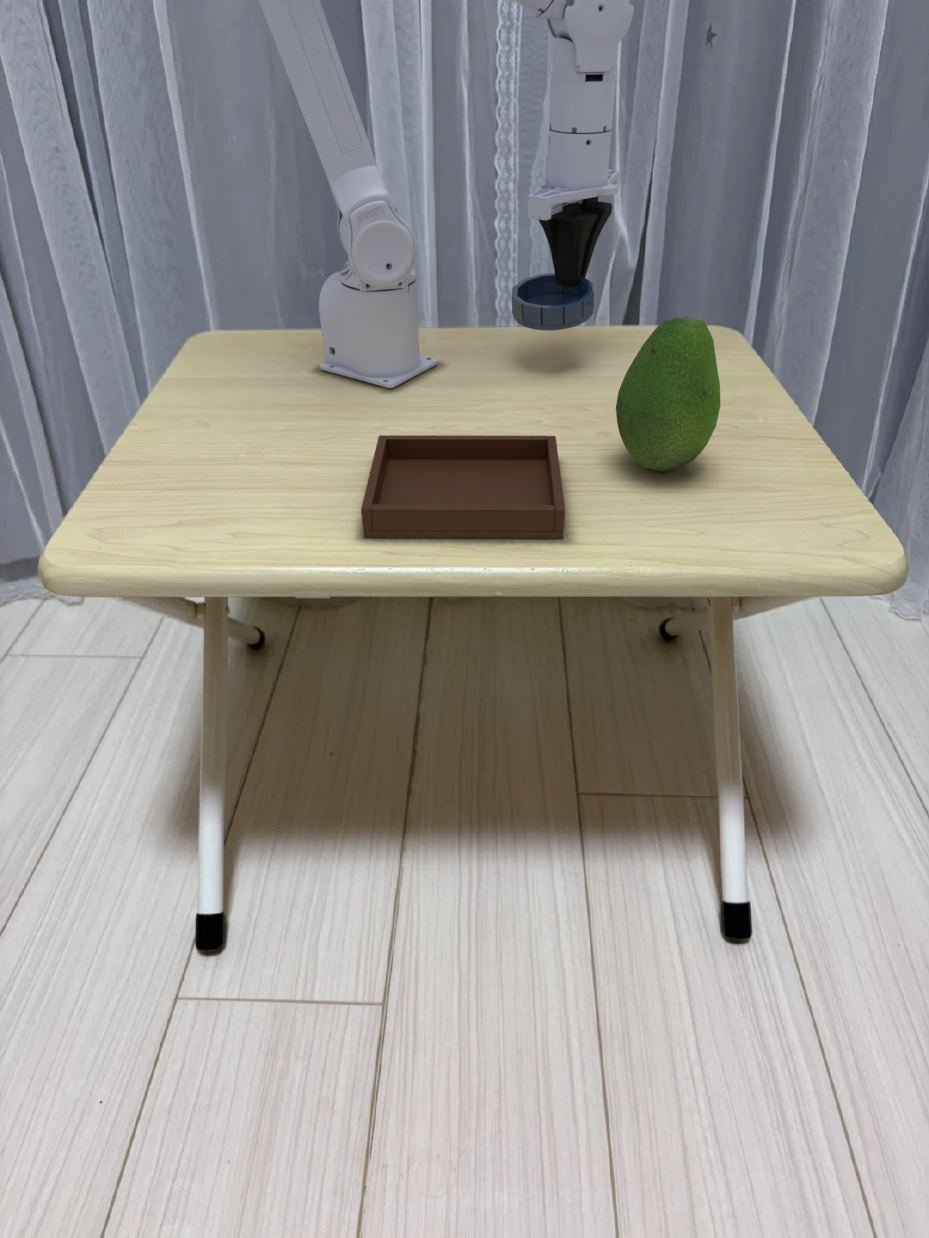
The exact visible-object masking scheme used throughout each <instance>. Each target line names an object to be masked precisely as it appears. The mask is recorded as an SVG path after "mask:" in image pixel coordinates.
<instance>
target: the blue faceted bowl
mask: <svg viewBox="0 0 929 1238" xmlns="http://www.w3.org/2000/svg"><path fill="white" fill-rule="evenodd" d="M594 287H595V286H594V282H593V281H591V280H590V279H588V278H586V277H585V278H584V277H583V276H580V278H579V281H578V284H577V285H576V286H574V287H572V286H566V285H561V284H557V282H556V277H555V272H550V273H549V272H548V273H540V274H536V275H533V276H530V277H526V278H524V279H522V280H520V281H519V282H518V283H517V284H515V285H514V286H513V287H512V288H511V295H510V296H511V314H512V317H513V320H514V321H515V322H516V323H517V324H518V325H520V326H522V327H523V328H524V327H525V328H528V329H531V330H536V331H547V332H549V331H561V330H566V329H570V328H571V329H572V328H575V327H577V326H579V325H582V324H584V323H585V322H587V321H588V320H590V318H591V317H592V316H593V314H594V309H595V288H594Z"/></svg>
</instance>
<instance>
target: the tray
mask: <svg viewBox="0 0 929 1238" xmlns="http://www.w3.org/2000/svg"><path fill="white" fill-rule="evenodd" d="M362 499H363V500H362V505H361V508H360V511H361V522H362V523H361V524H362V534H363V538H364V539H365V538H367V539H370V538H371V539H372V538H374V539H375V538H376V539H377V538H382V539H384V538H385V539H386V538H387V539H390V538H391V539H392V538H394V539H395V538H396V539H397V538H398V539H401V538H402V539H549V540H550V539H556V540H557V539H559V540H560V539H564V533H565V518H566V506H565V505H566V504H565V500H564V490H563V483H562V474H561V467H560V460H559V452H558V444H557V436H556V435H465V434H464V435H460V434H459V435H450V434H449V435H447V434H446V435H444V434H443V435H442V434H441V435H439V434H438V435H433V434H430V435H428V434H427V435H426V434H425V435H423V434H422V435H417V434H414V435H413V434H412V435H411V434H409V435H408V434H407V435H405V434H404V435H403V434H402V435H400V434H395V435H394V434H393V435H392V434H390V435H389V434H387V435H386V434H383V435H381V434H379V435H378V438H377V442H376V446H375V449H374V453H373V458H372V463H371V467H370V471H369V474H368V479H367V483H366V487H365V492H364V496H363V498H362Z"/></svg>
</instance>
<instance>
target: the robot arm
mask: <svg viewBox="0 0 929 1238" xmlns="http://www.w3.org/2000/svg"><path fill="white" fill-rule="evenodd" d="M513 1H514V2H516V3H517V4H518V5H520V6H521V7H522V8H523V9H525V10H527V11H528V13H530V14H531V15H533V16H534V17H536V18H537V19H538V20H540V21H544V23H545V25H546V28H547V30H548V32H549V34H550V35H551V37H552V38H553V47H552V48H553V49H552V68H551V72H550V73H551V79H550V98H549V119H548V138H547V139H548V140H547V141H548V142H547V163H546V180H544V182H542V184H541V185H540V186H539V187H538V188H537V190H536V191H534V192H532V193H530V194H528V196H527V218H528V219H532V220H537V221H538V222H539V224H540V226H541V228H542V230H543V232H544V235H545V237H546V240H547V244H548V247H549V251H550V256H551V261H552V265H553V273H555V277H556V282H557V284H561V285H566V286H572V287H574V286H576V285H577V284H578V281H579V278H580V276H583V277H584V278H586V277H587V275H588V271H589V267H590V264H591V261H592V257H593V254H594V250H595V248H596V246H597V242H598V239H599V237H600V235H601V232H602V230H603V228H604V227H605V225H606V223H607V221H608V220H609V218H610V217H611V215H612V213H613V204H612V202H606V201H599V197H611V196H614V195H617V194H618V193H619V189H620V179H621V170H617V169H609V166H610V155H611V154H610V153H611V143H612V142H611V141H612V131H613V130H612V129H613V120H614V107H615V95H616V86H617V85H616V84H617V74H618V73H617V72H618V71H617V66H618V55H619V54H618V53H619V44H620V42H621V40H622V39H623V38H624V36H626V34H627V32H628V30H629V28H630V26H631V23H632V21H633V16H634V12H635V6H633V5H632V4H631V0H513ZM258 2H259V5H260V7H261V9H262V12H263V15H264V18H265V21H266V23H267V26H268V28H269V31H270V33H271V36H272V39H273V40H274V43H275V46H276V49H277V51H278V54H279V57H280V59H281V62H282V64H283V67H284V70H285V72H286V74H287V77H288V80H289V83H290V86H291V88H292V90H293V93H294V95H295V98H296V100H297V104H298V106H299V108H300V111H301V114H302V116H303V119H304V121H305V124H306V127H307V129H308V132H309V134H310V137H311V140H312V142H313V145H314V148H315V150H316V153H317V155H318V159H319V161H320V163H321V166H322V169H323V171H324V173H325V177H326V180H327V182H328V186H329V188H330V191H331V194H332V196H333V199H334V203H335V205H336V209H337V225H336V228H337V229H336V230H337V231H336V232H337V236H338V240H339V242H340V245H341V246H342V248H343V250H344V251H345V252H346V254H347V258H348V259H347V260H346V262H345V265H344V266H343V269H342V270H341V271H336V272H334V273H332V274H331V275H330V276H329V277H327V279H325V281H324V283H323V285H322V287H321V289H320V293H319V298H318V312H319V320H320V330H321V340H322V348H323V356H324V362H322V363H320V364H319V369H320V370H322V371H326V372H329V373H333V374H336V375H340V376H344V377H348V378H351V379H355V380H358V381H361V382H365V383H368V384H369V383H370V384H371V385H372V384H373V385H376V386H379V387H383V388H387V389H393V388H396V387H397V386H399V385H401V384H402V383H405V382H406V381H408V380H411V379H412V378H414V377H416V376H417V375H419V374H421V373H423V372H425V371H427V370H429V369H431V368H433V367H435V366H437V365H438V359H437V358H435V357H431V356H426V355H424V354H421V353H420V335H419V312H418V310H419V309H418V289H417V287H418V286H417V271H416V270H415V269H414V268H415V266H416V263H417V259H418V241H417V238H416V234H415V233H414V231H413V230H412V227H410V225H409V224H408V223H407V222H406V221H405V220H404V219H403V218H402V217H401V216H400V213H399V211H398V208H397V207H396V206H395V204H394V203H393V202H392V199H391V195H390V193H389V190H388V188H387V185H386V183H385V181H384V179H383V177H382V173H381V172H380V170H379V167H378V165H377V161H376V158H375V156H374V153H373V150H372V147H371V144H370V141H369V139H368V135H367V133H366V130H365V127H364V124H363V122H362V118H361V116H360V113H359V111H358V106H357V104H356V102H355V101H356V100H355V98H354V96H353V92H352V89H351V86H350V84H349V81H348V78H347V75H346V72H345V69H344V66H343V63H342V60H341V58H340V55H339V52H338V50H337V49H338V48H337V47H336V46H337V45H336V43H335V40H334V38H333V35H332V32H331V29H330V26H329V23H328V20H327V17H326V14H325V11H324V9H323V6H322V3H321V0H258Z"/></svg>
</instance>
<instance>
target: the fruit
mask: <svg viewBox="0 0 929 1238" xmlns="http://www.w3.org/2000/svg"><path fill="white" fill-rule="evenodd" d="M714 342H715V341H714V338H713V336H712V334H711V331H710V330H709V328H708V326H707V323H706V322H705V320H702V319H697V318H693V317H688V316H675V317H673V318H670V319H667V320H665V321H664V322H662V323H661V324H659V325H657V327H655V329H654V330H653V331H652V332H651V333H650V335H648V338H647V339H646V340H645V342H644V343H643V344H642V345H641V347H640V349H639V351H638V352H637V354H636V355H635V357H634V358H633V360H632V362H631V363H630V365H629V367H628V369H627V370H626V372H625V375H624V377H623V379H622V382H621V384H620V386H619V390H618V391H617V398H616V404H615V415H616V423H617V427H618V428H617V429H618V433H619V436H620V438H621V441H622V444H623V446H624V447H625V449H626V451H627V452H628V454H629V455H630V457H631V458H632V459H633V460H634V461H636V462H637V463H638V464H639V465H641V466H642V468H646V469H649V470H653V471H657V472H662V473H666V472H670V471H673V470H677V469H680V468H683V467H685V466H687V465H688V464H690V463H691V462H693V461H694V460H695V459H696V458H698V456H700V454H701V453H702V452H703V451H704V449H705V448H706V446H707V445H708V443H709V441H710V439H711V437H712V435H713V433H714V431H715V429H716V428H717V423H718V419H719V414H720V409H721V383H720V382H721V381H720V376H719V371H718V364H717V363H718V362H717V355H716V350H715V343H714Z"/></svg>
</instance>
